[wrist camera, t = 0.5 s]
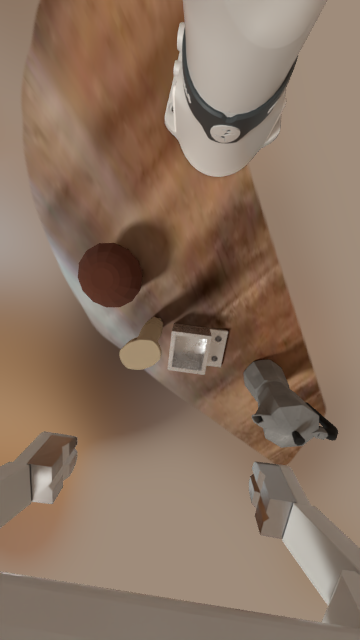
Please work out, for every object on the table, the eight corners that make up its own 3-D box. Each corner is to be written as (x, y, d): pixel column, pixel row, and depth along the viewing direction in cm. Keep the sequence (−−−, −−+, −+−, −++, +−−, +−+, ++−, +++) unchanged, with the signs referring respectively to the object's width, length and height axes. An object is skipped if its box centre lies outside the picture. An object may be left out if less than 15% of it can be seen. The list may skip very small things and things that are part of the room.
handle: (173, 327, 46) (165, 362, 32) (147, 336, 47) (128, 373, 33) (165, 308, 44) (152, 334, 30) (138, 318, 45) (114, 348, 31)
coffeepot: (229, 386, 50) (249, 456, 33) (241, 352, 47) (269, 410, 30) (290, 399, 50) (341, 475, 33) (306, 366, 47) (371, 432, 30)
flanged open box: (173, 323, 45) (172, 331, 41) (227, 330, 45) (231, 338, 41) (169, 358, 48) (167, 369, 44) (220, 365, 48) (223, 377, 44)
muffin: (112, 307, 45) (91, 323, 36) (84, 261, 42) (52, 264, 33) (159, 284, 43) (150, 294, 33) (132, 233, 40) (114, 228, 30)
